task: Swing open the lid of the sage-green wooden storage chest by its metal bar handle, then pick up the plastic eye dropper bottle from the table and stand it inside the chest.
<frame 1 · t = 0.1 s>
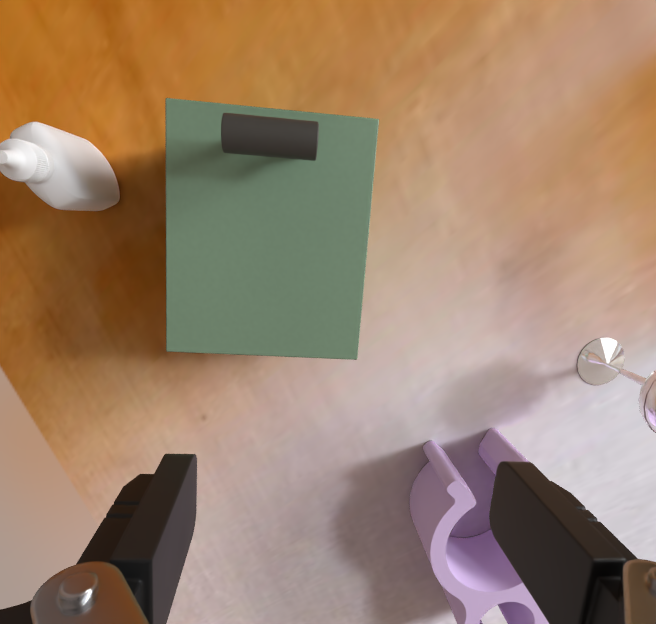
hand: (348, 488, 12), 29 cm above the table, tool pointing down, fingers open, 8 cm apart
clip: (469, 517, 47), on the table
wineglass: (599, 361, 44), on the table
eye dropper bottle: (94, 176, 37), on the table
lid: (267, 240, 26), point 13 cm above the table, hinge at 0.0°
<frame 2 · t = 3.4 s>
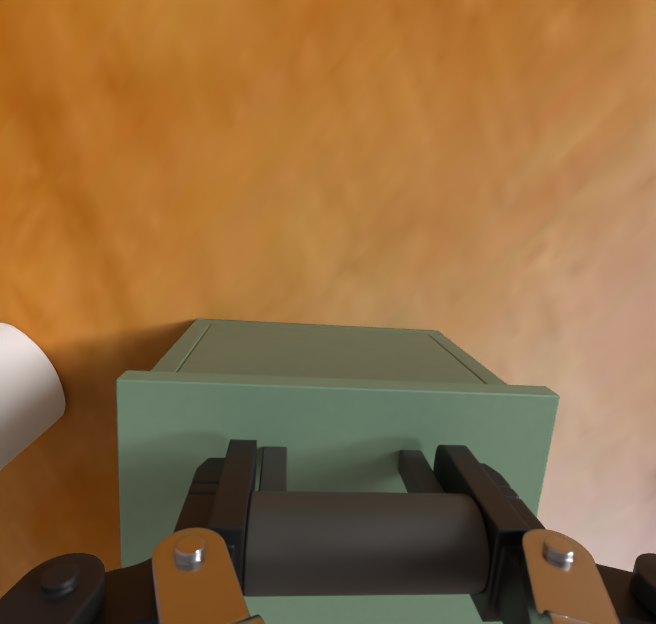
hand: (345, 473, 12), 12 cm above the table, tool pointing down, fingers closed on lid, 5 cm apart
eye dropper bottle: (24, 373, 23), on the table
chest: (311, 452, 25), on the table
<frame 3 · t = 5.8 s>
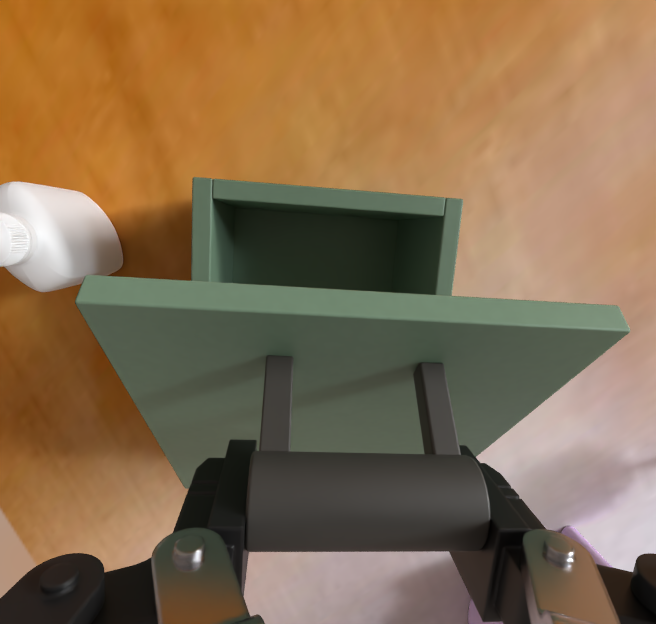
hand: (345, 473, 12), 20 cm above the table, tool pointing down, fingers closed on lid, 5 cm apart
eye dropper bottle: (92, 235, 30), on the table
chest: (311, 306, 32), on the table
lid: (331, 488, 15), point 17 cm above the table, hinge at 44.0°, touching gripper
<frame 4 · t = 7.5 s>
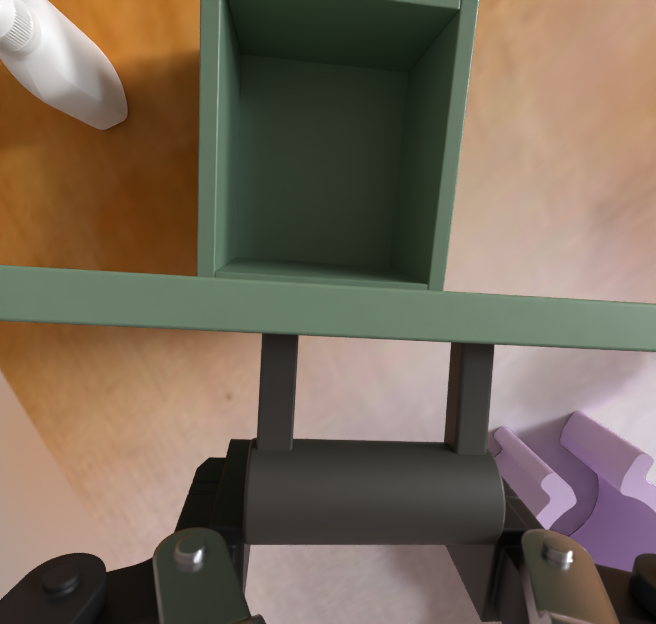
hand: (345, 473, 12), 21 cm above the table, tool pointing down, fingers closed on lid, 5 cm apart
clip: (546, 521, 39), on the table
eye dropper bottle: (96, 86, 29), on the table
chest: (319, 168, 31), on the table
lid: (340, 366, 15), point 18 cm above the table, hinge at 81.5°, touching gripper
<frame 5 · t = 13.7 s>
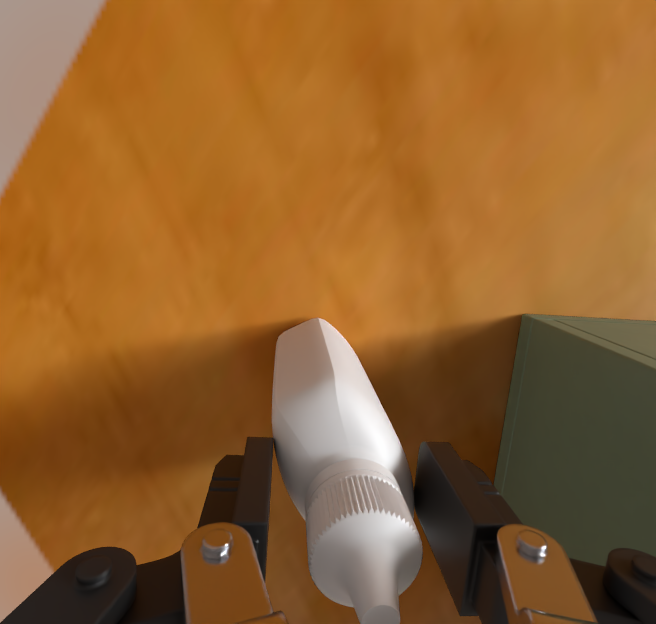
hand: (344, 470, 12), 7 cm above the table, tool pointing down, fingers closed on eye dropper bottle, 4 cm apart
eye dropper bottle: (324, 375, 20), on the table, touching gripper
chest: (619, 465, 22), on the table
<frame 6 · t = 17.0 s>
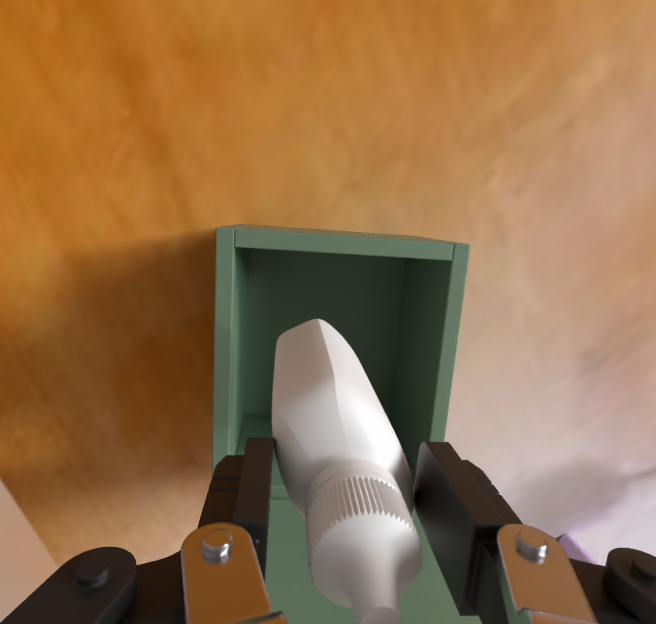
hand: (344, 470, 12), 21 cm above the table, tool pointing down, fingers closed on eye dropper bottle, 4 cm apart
eye dropper bottle: (324, 376, 20), point 13 cm above the table, touching gripper
chest: (322, 330, 33), on the table
when the fingers open (8 cm above the table, at t = 20.8 s): eye dropper bottle stays where it is, resting on chest.
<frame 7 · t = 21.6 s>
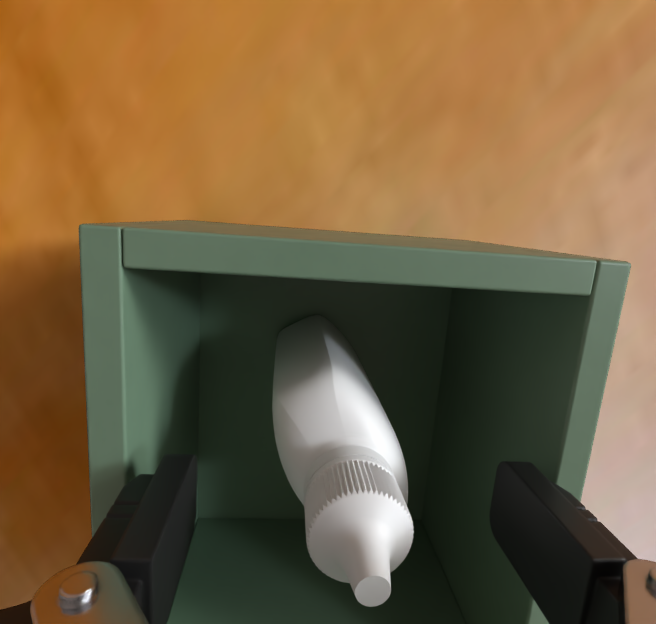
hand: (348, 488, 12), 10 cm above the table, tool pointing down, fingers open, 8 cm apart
eye dropper bottle: (323, 371, 20), point 1 cm above the table, touching chest
chest: (320, 386, 21), on the table
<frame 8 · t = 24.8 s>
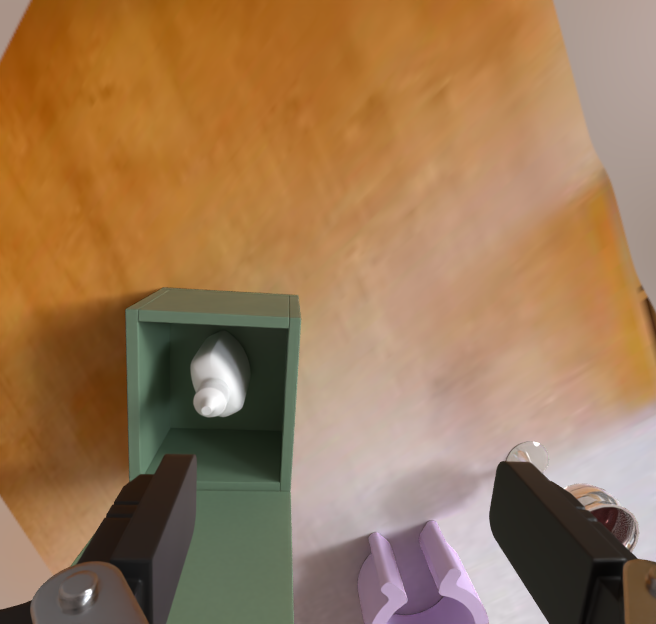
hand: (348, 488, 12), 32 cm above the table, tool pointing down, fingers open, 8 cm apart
clip: (412, 597, 52), on the table
wineglass: (526, 460, 49), on the table
eye dropper bottle: (229, 356, 43), point 1 cm above the table, touching chest
chest: (229, 364, 44), on the table
lid: (187, 590, 28), point 18 cm above the table, hinge at 82.2°
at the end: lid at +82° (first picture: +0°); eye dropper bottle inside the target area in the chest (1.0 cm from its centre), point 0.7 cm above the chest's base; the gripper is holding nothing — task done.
